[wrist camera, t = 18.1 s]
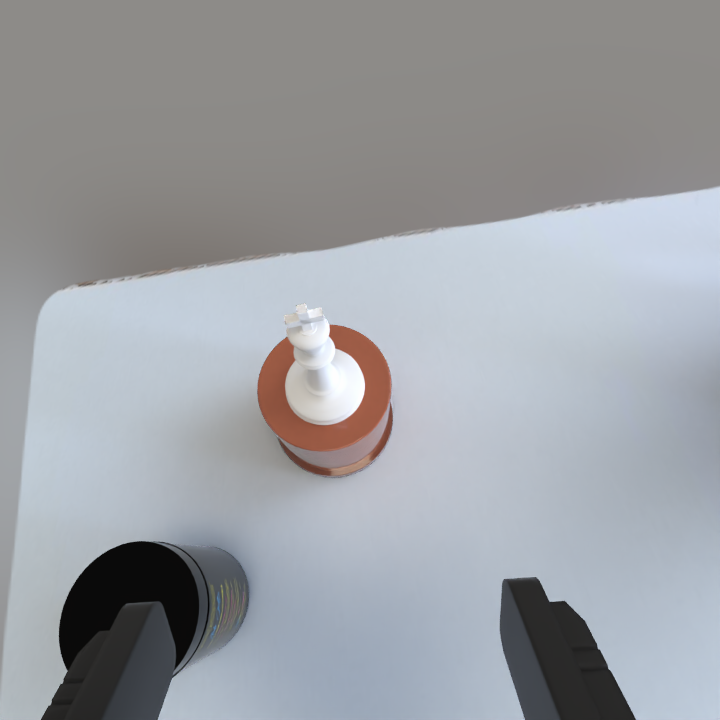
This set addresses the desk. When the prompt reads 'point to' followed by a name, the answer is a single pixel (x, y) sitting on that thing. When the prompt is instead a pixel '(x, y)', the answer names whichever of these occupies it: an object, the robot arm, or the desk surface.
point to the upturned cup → (340, 440)
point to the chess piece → (320, 371)
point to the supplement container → (159, 596)
